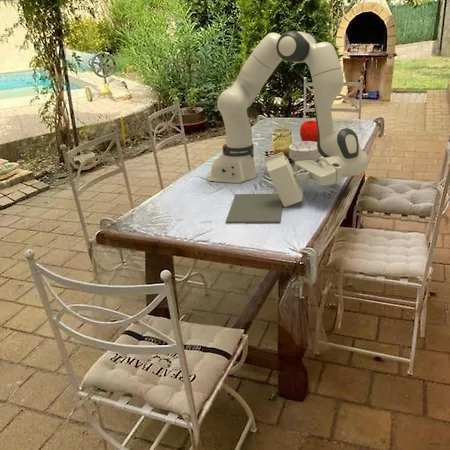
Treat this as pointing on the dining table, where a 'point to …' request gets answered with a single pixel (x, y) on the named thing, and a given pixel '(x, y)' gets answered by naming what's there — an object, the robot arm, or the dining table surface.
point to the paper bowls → (304, 151)
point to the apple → (309, 131)
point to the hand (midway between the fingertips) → (295, 176)
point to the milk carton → (284, 179)
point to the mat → (255, 209)
